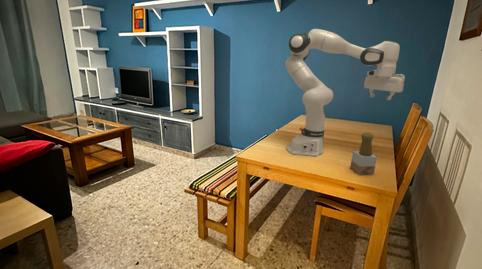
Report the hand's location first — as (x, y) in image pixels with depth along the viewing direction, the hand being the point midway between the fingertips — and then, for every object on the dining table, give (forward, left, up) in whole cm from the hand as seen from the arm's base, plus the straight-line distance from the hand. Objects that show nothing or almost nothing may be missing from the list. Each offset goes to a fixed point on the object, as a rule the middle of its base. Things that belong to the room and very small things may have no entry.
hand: (380, 98), depth 138 cm
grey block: (-14, -20, -30) cm, 39 cm away
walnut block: (-14, -20, -35) cm, 43 cm away
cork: (-14, -20, -25) cm, 35 cm away
